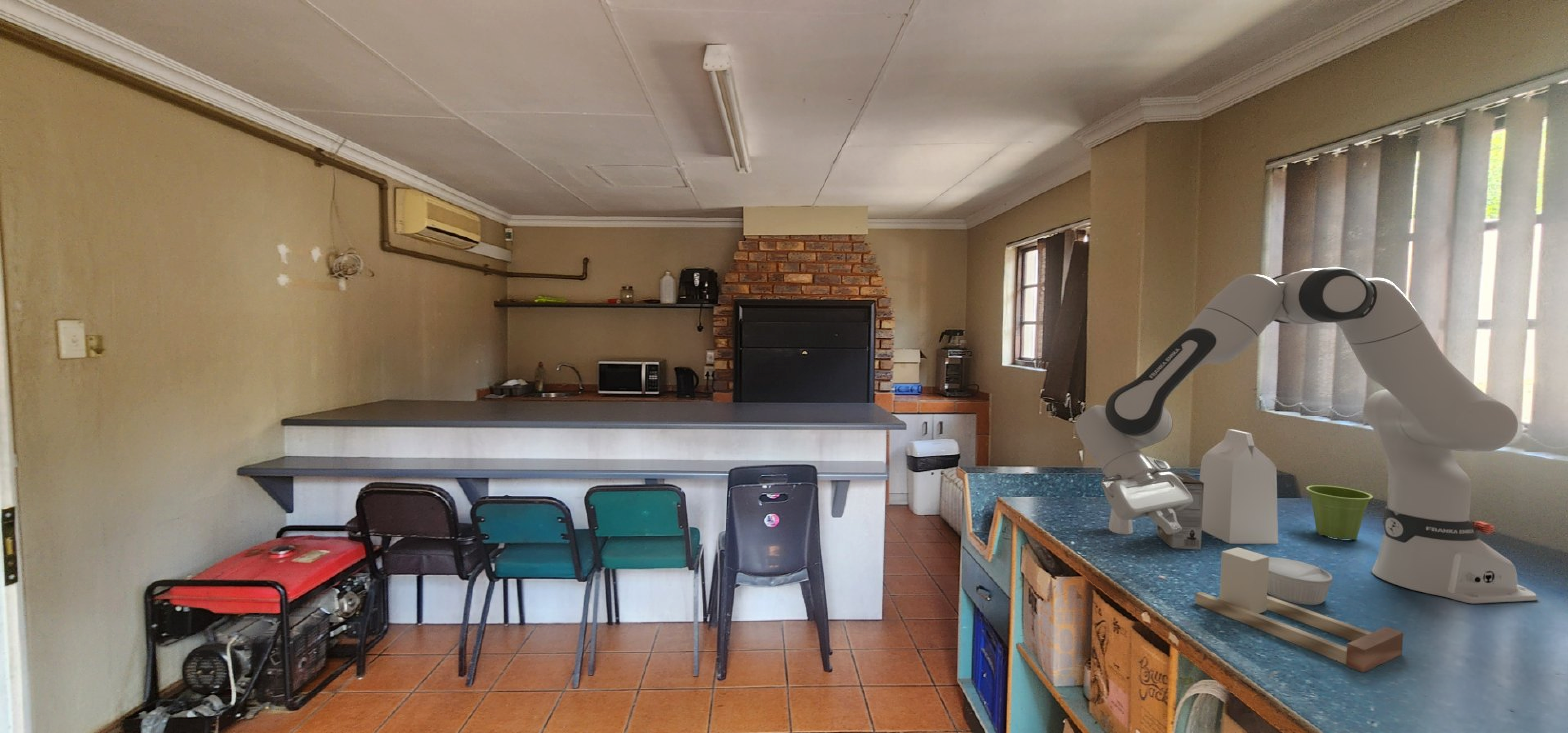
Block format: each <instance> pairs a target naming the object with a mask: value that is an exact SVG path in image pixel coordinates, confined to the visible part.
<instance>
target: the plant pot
mask: <svg viewBox="0 0 1568 733" xmlns="http://www.w3.org/2000/svg"><path fill="white" fill-rule="evenodd" d="M1305 489H1306V491H1308V493H1309V498H1310V500H1311V505H1312V510H1313V511H1312V512H1313V516H1314V517H1313V518H1314V523H1315V530H1316V533H1317V532H1318V533H1319V534H1318V533H1317V534H1318V535H1320V534H1321V535H1325V537H1327V536H1329V537H1332V538H1337V539H1356V540H1357V539H1358V535H1359V532H1360V529H1361V526H1362V522H1363V519H1364V515H1365V512H1366V509H1367V507H1368V505H1369V501H1370V500H1371V499H1373V498H1374V497H1373V495H1372V494H1371V493H1368V492H1366V491H1361V490H1358V489H1353V488H1347V487H1342V486H1334V485H1323V484H1322V485H1321V484H1320V485H1319V484H1317V485H1309V486H1308V485H1307V486H1306V488H1305ZM1321 535H1320V536H1321ZM1329 537H1328V538H1329ZM1332 538H1331V539H1332Z"/></svg>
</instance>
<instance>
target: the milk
mask: <svg viewBox="0 0 1568 733" xmlns="http://www.w3.org/2000/svg"><path fill="white" fill-rule="evenodd" d="M1200 462H1201V463H1200V469H1199V470H1200V471H1199V480H1200V481H1201V482H1203V483H1204V492H1203V512H1202V531H1203V532H1205V533H1207V534H1209V535H1211V536H1213V537H1214V538H1218V539H1220V540H1221V539H1222V540H1221V541H1223V542H1226V543H1228V544H1237V545H1238V544H1243V545H1244V544H1248V545H1249V544H1256V545H1257V544H1260V545H1261V544H1266V545H1267V544H1270V545H1271V544H1274V545H1277V544H1279V530H1278V529H1279V527H1278V487H1277V486H1278V482H1277V481H1278V480H1277V474H1278V473H1277V467H1276V465H1275V463H1274V461H1272V460H1271V459H1270V458H1269V457H1268V456H1267V455H1265V454H1264V452H1262V451H1261V450H1260V449H1259V448H1258V447H1256V445H1255V441H1254V439H1253V434H1252V433H1251V432H1246V431H1241V430H1238V429H1232V428H1231V429H1230V428H1229V429H1226V432H1225V436H1224V438H1223V439H1222V440H1221V441H1220V442H1218V443H1217V444H1216V445H1214V446H1213V447H1211V448H1210V449H1209V450H1208V451H1206V453H1204V455H1202V458H1201V461H1200Z"/></svg>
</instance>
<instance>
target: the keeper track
mask: <svg viewBox="0 0 1568 733" xmlns="http://www.w3.org/2000/svg"><path fill="white" fill-rule="evenodd" d="M1194 599H1195V600H1194V601H1195V602H1194V604H1195V605H1198V606H1200V607H1203V608H1206V609H1208V610H1210V611H1213V612H1215V613H1218V614H1219V615H1223V616H1225V617H1227V618H1230V619H1233V620H1235V621H1238V622H1240V623H1243V624H1244V625H1247V626H1250V627H1253V628H1255V629H1257V630H1260V631H1262V632H1264V633H1267V634H1269V635H1272V636H1275V637H1278V638H1280V639H1282V640H1285V641H1287V642H1290V643H1293V644H1294V645H1297V646H1300V647H1302V648H1305V649H1307V650H1308V651H1309V650H1310V651H1312V652H1314V653H1318V654H1319V655H1322V656H1325V657H1327V658H1329V659H1332V660H1334V661H1336V660H1337V661H1336V662H1339V663H1342V664H1344V665H1345V666H1346V667H1348V668H1351V669H1353V670H1356V671H1358V672H1360V673H1362V674H1363V673H1366V672H1368V671H1371V670H1372V669H1374V668H1376V666H1377V667H1379V666H1380V664H1381V665H1382V664H1385V663H1387V662H1389V661H1390V660H1393V659H1395V658H1397V657H1400V656H1401V655H1403V640H1404V632H1402V631H1399V630H1396V629H1394V628H1390V627H1388V626H1385V627H1382V628H1380V629H1377V630H1375V631H1373V632H1372V631H1369V630H1366V629H1364V628H1361V627H1358V626H1355V625H1352V624H1350V623H1346V622H1344V621H1340V620H1338V619H1335V618H1332V617H1329V616H1326V615H1324V614H1321V613H1319V612H1316V611H1313V610H1311V609H1307V608H1304V607H1301V606H1298V605H1296V604H1294V603H1291V602H1288V601H1285V600H1281V599H1279V598H1276V597H1273V596H1271V595H1269V594H1267V610H1268V611H1271V612H1273V613H1275V614H1279V615H1282V616H1285V617H1287V618H1290V619H1292V620H1293V621H1294V620H1295V621H1297V622H1301V623H1303V624H1306V625H1308V626H1311V627H1313V628H1317V629H1318V630H1319V629H1320V630H1322V631H1324V632H1327V633H1330V634H1332V635H1335V636H1337V637H1341V638H1343V637H1344V638H1343V639H1345V638H1346V640H1347V641H1348V640H1349V641H1350V642H1347V644H1346V646H1344V645H1341V644H1339V643H1335V642H1334V641H1330V640H1328V639H1326V638H1323V637H1320V636H1317V635H1316V634H1313V633H1309V632H1307V631H1305V630H1302V629H1299V628H1297V627H1294V626H1292V625H1289V624H1286V623H1283V622H1281V621H1279V620H1276V619H1273V618H1271V617H1268V616H1265V615H1263V614H1262V613H1259V614H1258V613H1255V612H1253V611H1250V610H1247V609H1245V608H1242V607H1240V606H1237V605H1234V604H1232V603H1229V602H1227V601H1224V600H1221V599H1220V597H1219V598H1218V597H1216V596H1213V595H1211V594H1208V593H1205V592H1202V591H1198V592H1195V597H1194ZM1378 665H1379V666H1378Z"/></svg>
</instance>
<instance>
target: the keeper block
mask: <svg viewBox="0 0 1568 733" xmlns="http://www.w3.org/2000/svg"><path fill="white" fill-rule="evenodd" d="M1269 557H1270V556H1268V555H1265V554H1261V553H1259V552H1255V551H1252V550H1248V549H1245V548H1241V547H1238V546H1237V547H1234V548H1230V549H1226V550H1222V551H1221V559H1220V560H1221V561H1220V562H1221V563H1220V564H1221V565H1220V582H1219V583H1220V586H1219V599H1221V600H1224V601H1227V602H1229V603H1232V604H1234V605H1237V606H1240V607H1242V608H1245V609H1247V610H1250V611H1253V612H1255V613H1258V614H1262V613H1264V612H1267V610H1268V609H1267V595H1268V594H1267V590H1268V569H1269Z"/></svg>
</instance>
